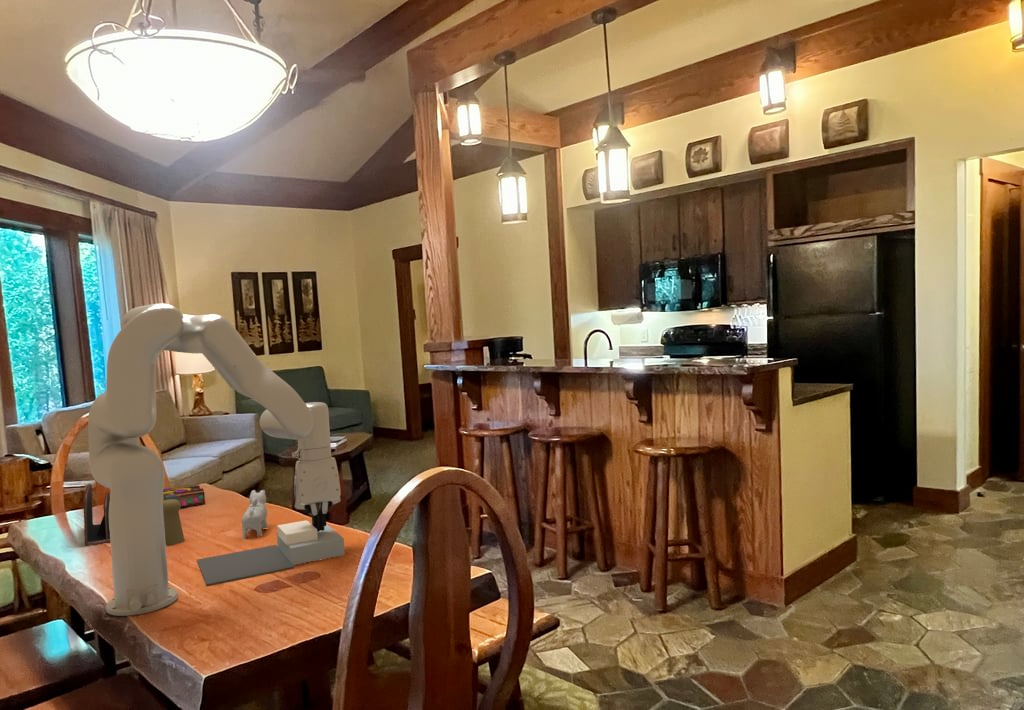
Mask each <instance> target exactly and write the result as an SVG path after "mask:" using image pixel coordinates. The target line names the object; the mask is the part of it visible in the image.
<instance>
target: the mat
mask: <svg viewBox="0 0 1024 710" xmlns="http://www.w3.org/2000/svg"><path fill="white" fill-rule="evenodd" d="M196 561H197V565H198V568H199V570H200V572H201V575H202V578H203V580H204V583H205V586H206V587H210V586H213V585H214V586H215V585H219V584H224V583H229V582H233V581H239V580H243V579H247V578H248V579H249V578H252V577H257V576H262V575H268V573H269V574H272V573H273V574H274V573H278V572H282V570H283V571H287V570H286V569H288V570H292V569H291V568H293V569H295V565H294V566H293V565H292V563H291V562H290V561H289V560H288V559H287V557H286V556H285V555H284V554H283V552H282V551H281V550H280V549H279V548H278V544H273V545H268V546H262V547H257V548H252V549H246V550H240V551H236V552H230V553H225V554H219V555H215V556H209V557H208V556H207V557H204V558H198V559H196ZM277 571H278V572H277Z"/></svg>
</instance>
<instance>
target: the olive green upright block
mask: <svg viewBox="0 0 1024 710" xmlns="http://www.w3.org/2000/svg"><path fill="white" fill-rule="evenodd" d="M180 509H181V508H180V502H179V501H178V500H176V499H169V500H165V501H163V516H164V528H165V542H166V547H167V546H174V545H178V544H181V543H184V542H185V536H184V531H183V527H182V522H181V517H180V513H179V511H180Z"/></svg>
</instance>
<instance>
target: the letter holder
mask: <svg viewBox="0 0 1024 710" xmlns="http://www.w3.org/2000/svg"><path fill="white" fill-rule="evenodd" d="M92 486H93V485H92V483H88V484H87V485H86V488H85V490H84V494H83V527H84V546H87V547H90V546H89V545H93V546H98V545H97V544H100V545H104V544H103V543H106V544H111V543H110V530H109V502H110V491H107V492H105V495H104V503H103V516H102V519H101V522H100V524H94V522H93V519H94V518H93V516H94V515H93V487H92Z"/></svg>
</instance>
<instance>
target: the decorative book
mask: <svg viewBox="0 0 1024 710" xmlns="http://www.w3.org/2000/svg"><path fill="white" fill-rule="evenodd" d="M169 499H176V500H178V501H179V502H180V509H182V508H188V507H194V506H200V504H201V505H206V494H205V491H204V488H200V485H199V484H192V485H186V486H185V485H184V486H179V487H178V486H177V487H168V488H163V501H165V500H169Z"/></svg>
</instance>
